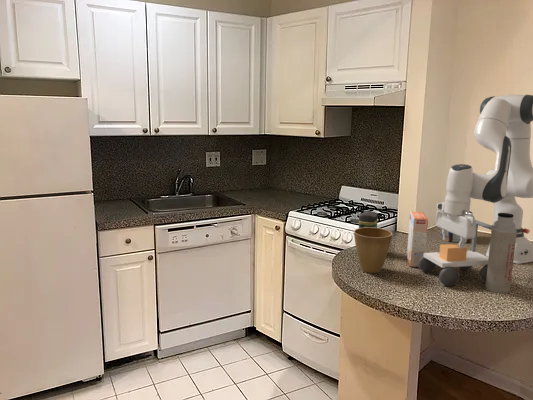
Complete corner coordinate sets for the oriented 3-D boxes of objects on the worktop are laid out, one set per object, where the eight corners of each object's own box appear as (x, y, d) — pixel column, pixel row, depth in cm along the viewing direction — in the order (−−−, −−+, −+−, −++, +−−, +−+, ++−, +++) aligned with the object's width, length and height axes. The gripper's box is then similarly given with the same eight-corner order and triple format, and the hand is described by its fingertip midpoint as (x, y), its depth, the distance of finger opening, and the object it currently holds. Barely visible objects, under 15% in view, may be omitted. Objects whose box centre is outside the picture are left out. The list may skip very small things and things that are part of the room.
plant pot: (349, 263, 191) (351, 226, 188) (385, 264, 191) (387, 227, 188) (355, 276, 177) (357, 236, 174) (393, 277, 176) (396, 237, 173)
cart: (470, 268, 187) (475, 218, 184) (498, 282, 171) (504, 228, 167) (417, 271, 183) (421, 220, 179) (441, 287, 166) (446, 231, 162)
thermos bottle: (514, 291, 163) (524, 215, 158) (499, 294, 160) (507, 217, 155) (495, 283, 170) (504, 210, 165) (480, 286, 167) (488, 212, 162)
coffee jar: (360, 247, 214) (362, 209, 211) (377, 250, 211) (379, 211, 207) (355, 253, 206) (357, 213, 202) (372, 255, 202) (374, 215, 199)
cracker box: (424, 268, 187) (428, 218, 183) (409, 267, 188) (413, 217, 184) (420, 258, 200) (424, 211, 196) (406, 257, 201) (409, 210, 197)
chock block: (457, 256, 176) (458, 243, 175) (465, 260, 171) (467, 247, 170) (439, 257, 174) (440, 244, 173) (446, 261, 169) (447, 248, 169)
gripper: (482, 214, 160) (478, 252, 162) (448, 203, 179) (445, 237, 182) (466, 214, 158) (462, 252, 161) (434, 203, 178) (430, 237, 181)
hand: (453, 244), depth 171 cm, fingers open, 8 cm apart
